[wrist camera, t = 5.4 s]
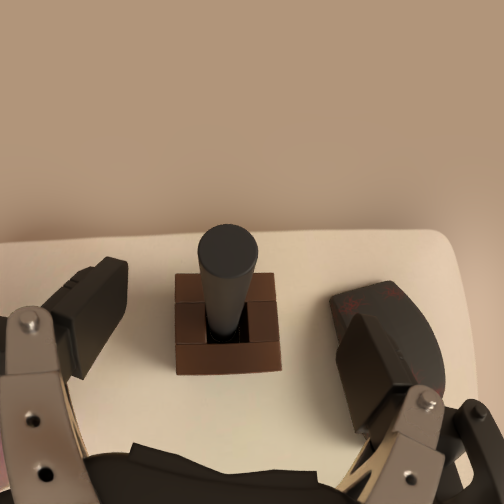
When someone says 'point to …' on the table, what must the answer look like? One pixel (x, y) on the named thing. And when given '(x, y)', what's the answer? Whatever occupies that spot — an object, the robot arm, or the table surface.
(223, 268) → the stylus
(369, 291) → the computer mouse
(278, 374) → the table surface
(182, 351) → the pen stand
